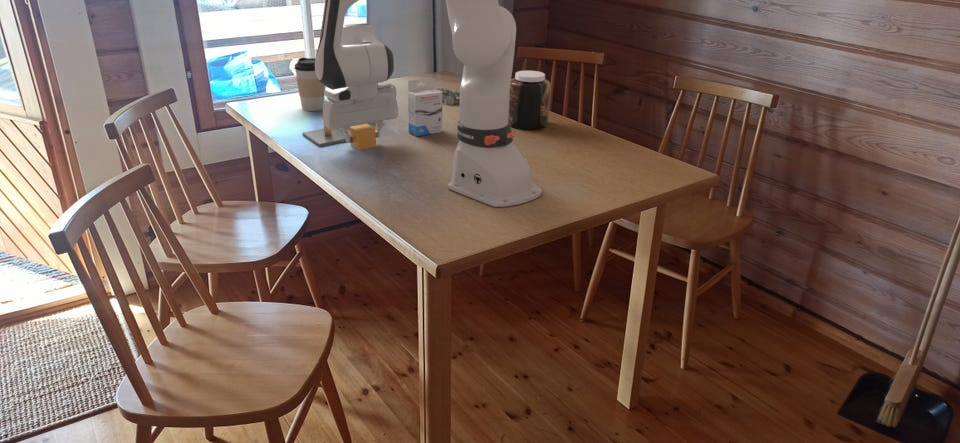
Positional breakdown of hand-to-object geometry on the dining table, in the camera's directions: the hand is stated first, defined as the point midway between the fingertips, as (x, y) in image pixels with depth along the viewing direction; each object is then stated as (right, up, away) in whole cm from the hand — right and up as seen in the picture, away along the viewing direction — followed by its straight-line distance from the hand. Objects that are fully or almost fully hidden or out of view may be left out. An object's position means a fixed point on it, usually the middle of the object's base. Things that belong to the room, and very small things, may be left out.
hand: (363, 139), depth 177 cm
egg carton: (+20, +18, +42) cm, 50 cm away
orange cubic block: (0, -1, +1) cm, 2 cm away
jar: (+45, +7, +21) cm, 50 cm away
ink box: (+16, +3, +12) cm, 20 cm away
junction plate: (-11, +1, +6) cm, 12 cm away
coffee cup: (-21, +14, +31) cm, 40 cm away
